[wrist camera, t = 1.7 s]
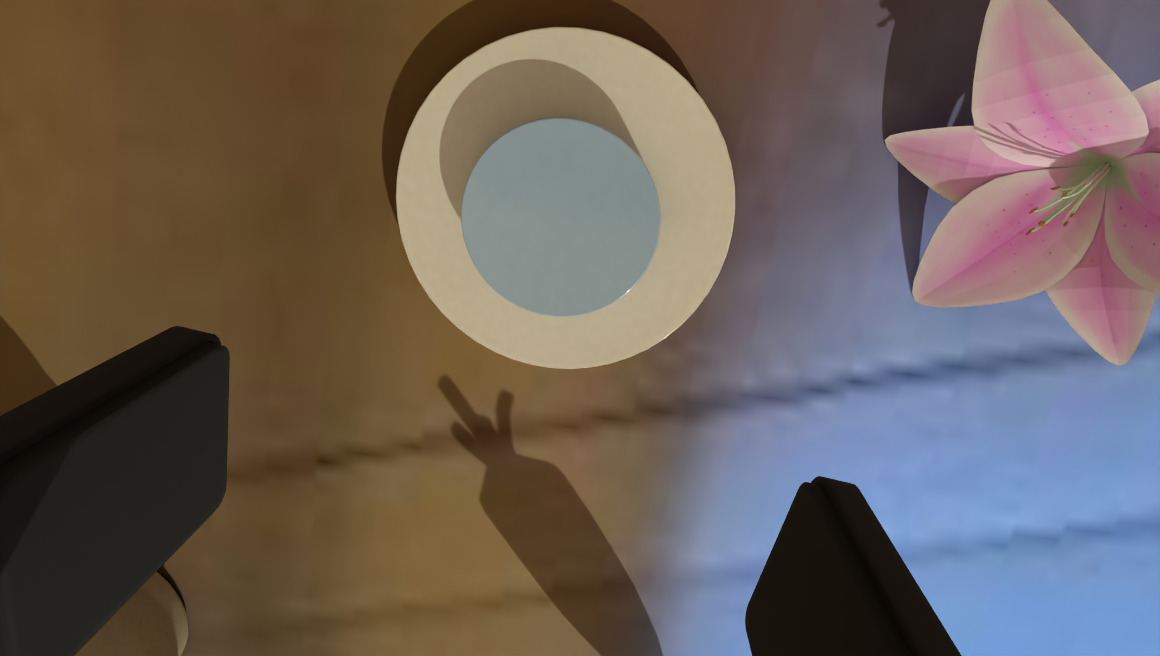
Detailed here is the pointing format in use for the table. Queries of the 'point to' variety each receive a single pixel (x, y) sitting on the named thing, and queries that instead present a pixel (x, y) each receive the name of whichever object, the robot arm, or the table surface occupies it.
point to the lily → (1046, 183)
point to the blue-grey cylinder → (561, 216)
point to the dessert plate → (600, 94)
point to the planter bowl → (144, 625)
